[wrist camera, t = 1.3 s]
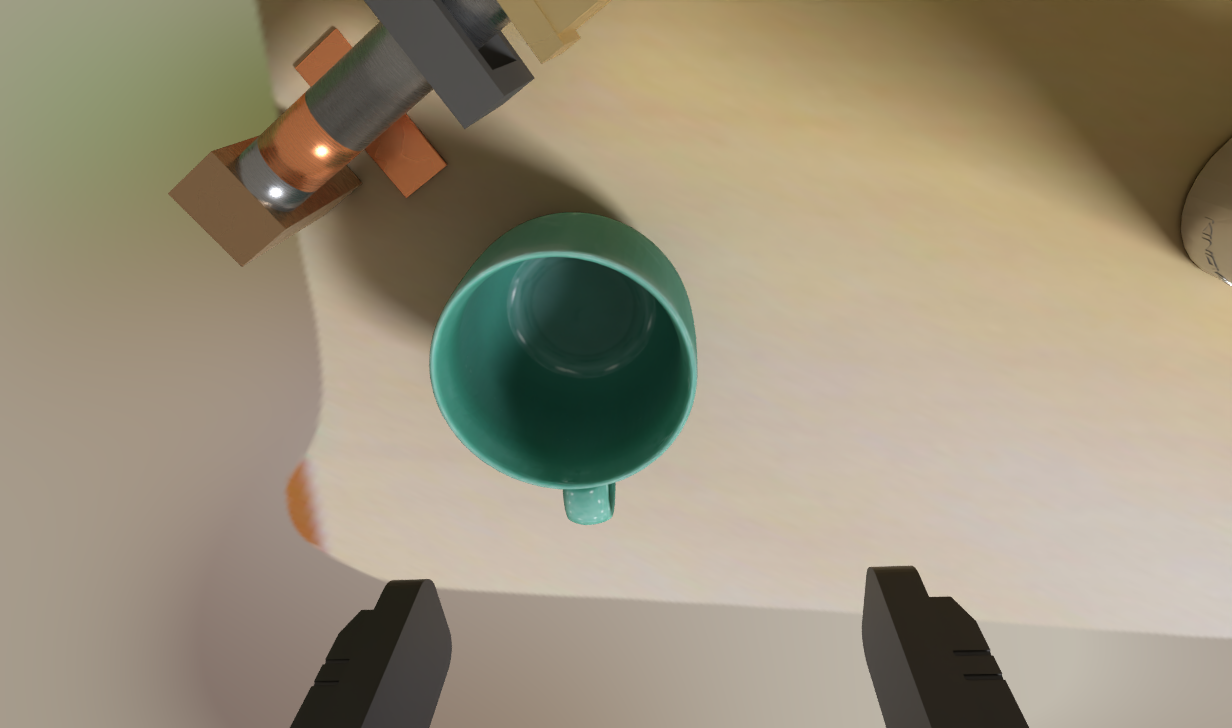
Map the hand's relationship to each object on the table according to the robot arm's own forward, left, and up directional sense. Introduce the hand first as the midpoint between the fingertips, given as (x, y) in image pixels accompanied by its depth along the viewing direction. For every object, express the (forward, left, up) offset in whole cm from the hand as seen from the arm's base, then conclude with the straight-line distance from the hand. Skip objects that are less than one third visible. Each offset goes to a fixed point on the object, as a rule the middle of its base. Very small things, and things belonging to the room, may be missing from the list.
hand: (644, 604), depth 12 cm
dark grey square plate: (+2, -12, -25) cm, 27 cm away
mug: (+8, +4, -27) cm, 29 cm away
